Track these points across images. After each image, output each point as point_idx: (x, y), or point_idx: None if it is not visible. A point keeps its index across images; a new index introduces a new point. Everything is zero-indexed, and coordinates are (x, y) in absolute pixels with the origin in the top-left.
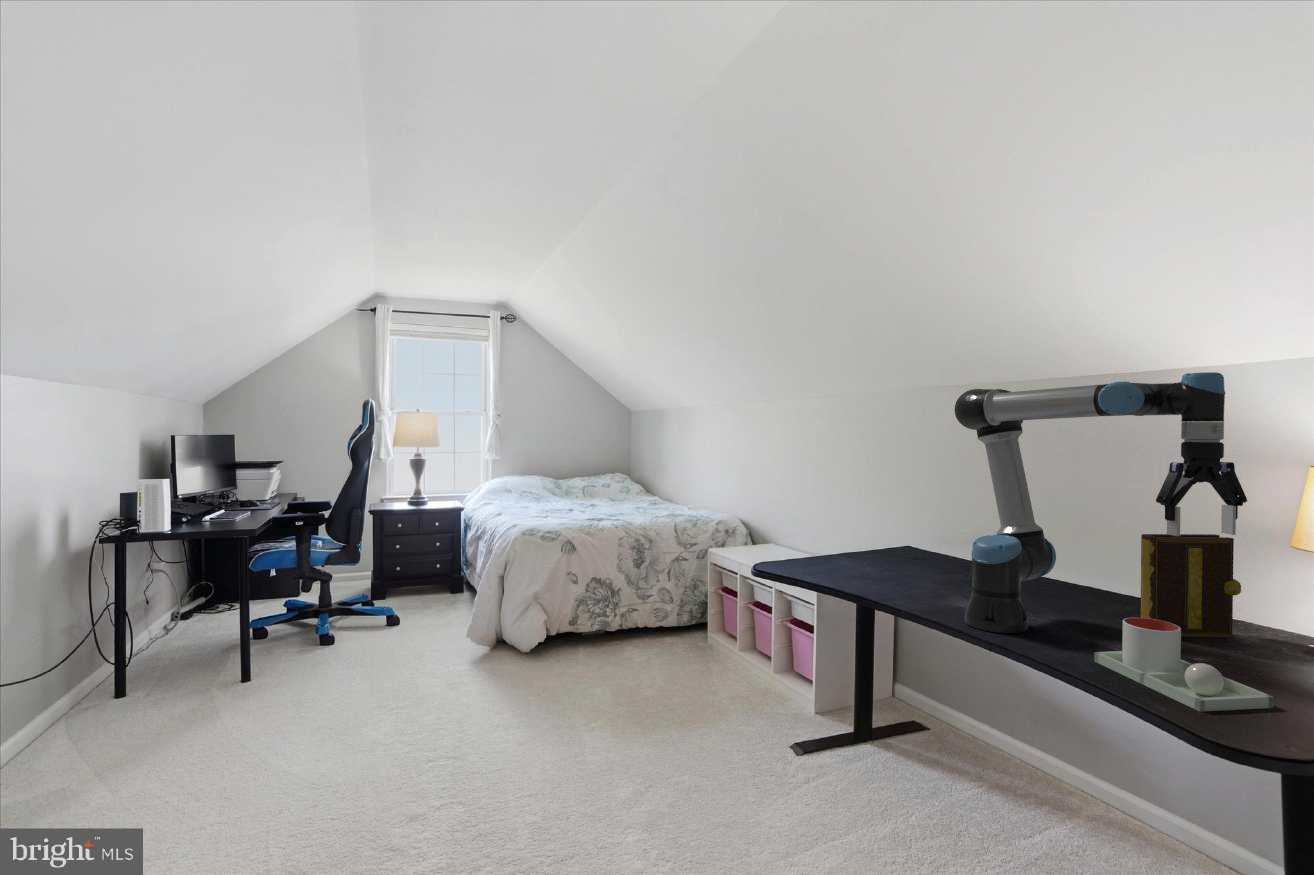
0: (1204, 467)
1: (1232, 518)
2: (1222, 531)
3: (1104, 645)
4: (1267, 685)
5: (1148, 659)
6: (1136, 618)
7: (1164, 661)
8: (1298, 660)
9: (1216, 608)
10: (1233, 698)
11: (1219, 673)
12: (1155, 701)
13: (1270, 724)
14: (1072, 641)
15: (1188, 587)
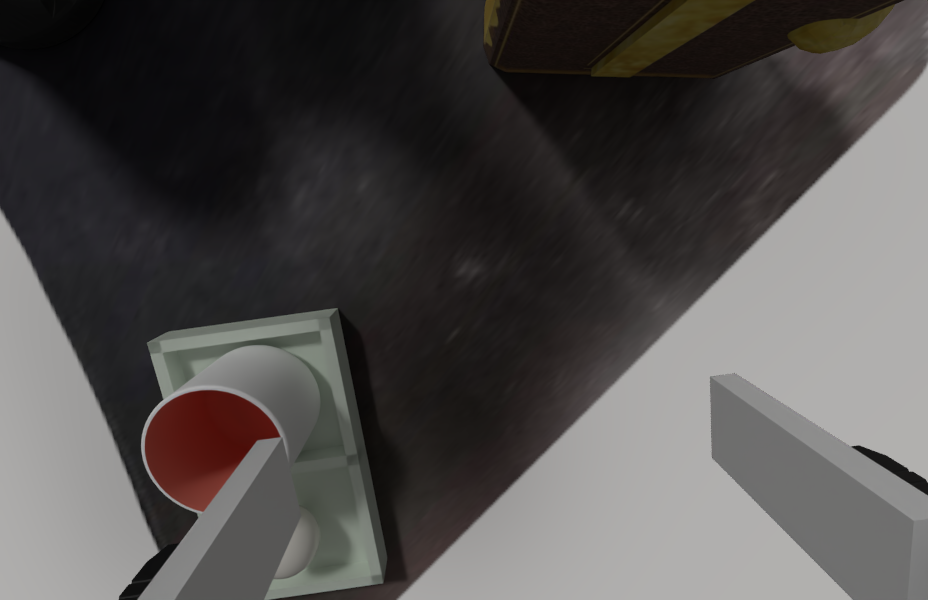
0: None
1: (795, 539)
2: (716, 391)
3: (282, 163)
4: (494, 429)
5: (217, 456)
6: (209, 388)
7: None
8: (714, 272)
9: (717, 52)
10: (297, 594)
11: (297, 573)
12: None
13: (346, 596)
14: (204, 126)
15: (645, 28)
